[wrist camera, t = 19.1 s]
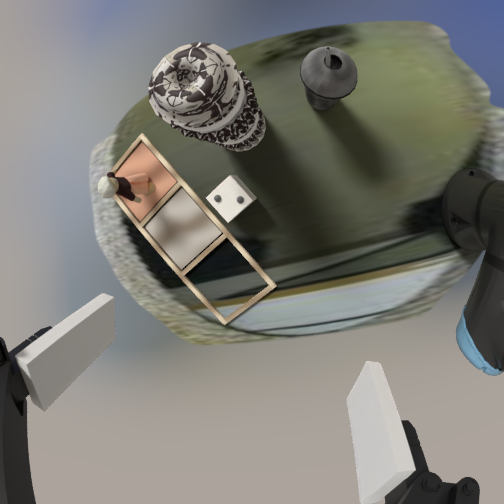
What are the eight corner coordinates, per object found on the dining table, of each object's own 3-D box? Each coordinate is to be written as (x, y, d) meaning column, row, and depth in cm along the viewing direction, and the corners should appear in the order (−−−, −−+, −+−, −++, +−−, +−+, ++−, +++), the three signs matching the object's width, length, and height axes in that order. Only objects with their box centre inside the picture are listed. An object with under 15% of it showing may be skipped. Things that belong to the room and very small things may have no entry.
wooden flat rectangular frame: (276, 285, 48) (276, 286, 48) (225, 323, 52) (224, 325, 51) (143, 133, 45) (141, 133, 44) (103, 182, 48) (102, 182, 48)
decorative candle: (201, 126, 43) (116, 86, 19) (243, 90, 41) (193, 14, 17) (236, 165, 44) (174, 153, 20) (279, 128, 42) (265, 74, 18)
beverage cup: (350, 110, 39) (387, 67, 20) (310, 124, 41) (322, 85, 22) (330, 72, 38) (352, 11, 19) (290, 86, 39) (288, 28, 20)
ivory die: (257, 198, 45) (252, 200, 40) (234, 218, 46) (227, 223, 41) (236, 175, 45) (229, 175, 39) (214, 195, 46) (204, 198, 41)
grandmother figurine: (163, 184, 46) (124, 188, 34) (154, 202, 48) (113, 212, 35) (132, 163, 46) (89, 163, 34) (124, 181, 47) (80, 186, 35)
